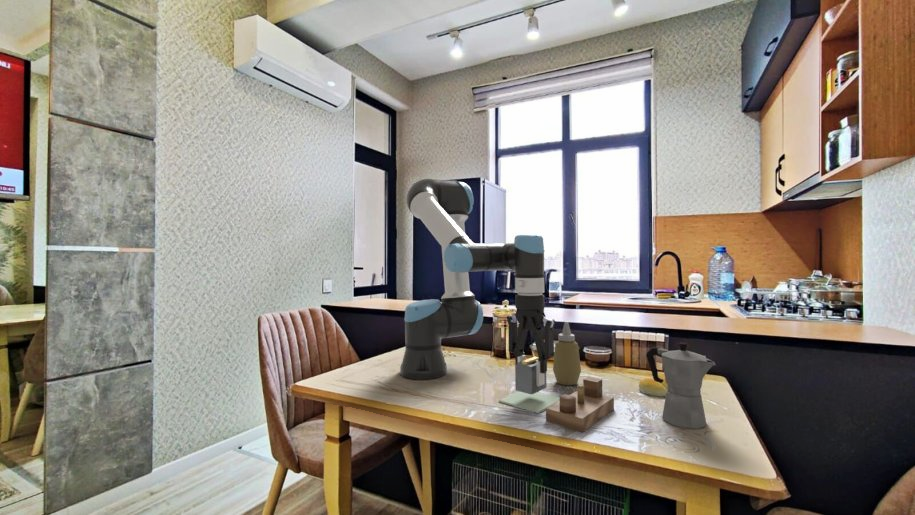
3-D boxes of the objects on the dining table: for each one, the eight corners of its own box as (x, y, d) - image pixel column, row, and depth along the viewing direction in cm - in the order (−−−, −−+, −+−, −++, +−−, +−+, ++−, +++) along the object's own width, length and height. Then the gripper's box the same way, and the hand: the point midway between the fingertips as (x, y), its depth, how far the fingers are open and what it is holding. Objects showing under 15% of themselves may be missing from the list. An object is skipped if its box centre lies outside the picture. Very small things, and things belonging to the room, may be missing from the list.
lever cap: (515, 390, 106) (515, 360, 106) (530, 383, 111) (529, 355, 111) (532, 394, 103) (531, 363, 103) (546, 387, 108) (546, 358, 108)
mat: (498, 401, 107) (498, 399, 107) (524, 389, 116) (524, 388, 116) (538, 413, 99) (538, 411, 99) (563, 400, 107) (563, 398, 107)
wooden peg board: (582, 432, 88) (582, 400, 88) (545, 421, 94) (545, 390, 94) (614, 409, 101) (613, 381, 101) (579, 400, 107) (579, 374, 107)
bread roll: (633, 388, 116) (633, 374, 116) (661, 386, 118) (661, 372, 118) (651, 399, 108) (651, 383, 108) (681, 396, 109) (681, 381, 109)
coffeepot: (724, 425, 91) (724, 344, 90) (704, 436, 85) (704, 351, 85) (657, 404, 103) (656, 333, 103) (636, 413, 98) (635, 338, 98)
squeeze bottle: (582, 387, 117) (581, 325, 116) (553, 386, 118) (552, 324, 118) (579, 379, 124) (579, 320, 124) (552, 377, 126) (552, 319, 126)
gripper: (493, 293, 110) (494, 379, 110) (553, 297, 98) (554, 394, 98) (509, 290, 115) (511, 372, 116) (568, 294, 103) (569, 386, 103)
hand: (531, 382), depth 107 cm, fingers closed on lever cap, 5 cm apart
